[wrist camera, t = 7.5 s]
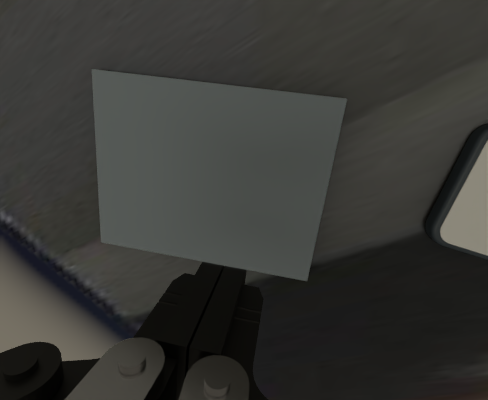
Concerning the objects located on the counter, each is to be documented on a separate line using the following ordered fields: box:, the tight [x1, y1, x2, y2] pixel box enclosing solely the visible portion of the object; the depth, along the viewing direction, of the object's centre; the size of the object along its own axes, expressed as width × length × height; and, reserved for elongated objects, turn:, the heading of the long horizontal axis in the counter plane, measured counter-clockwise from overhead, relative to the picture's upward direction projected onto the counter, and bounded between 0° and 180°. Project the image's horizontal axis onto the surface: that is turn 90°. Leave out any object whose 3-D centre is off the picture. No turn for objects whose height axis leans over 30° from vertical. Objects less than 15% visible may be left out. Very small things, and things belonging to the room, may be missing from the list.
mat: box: [92, 69, 347, 281], centre depth 22 cm, size 18×14×1 cm
